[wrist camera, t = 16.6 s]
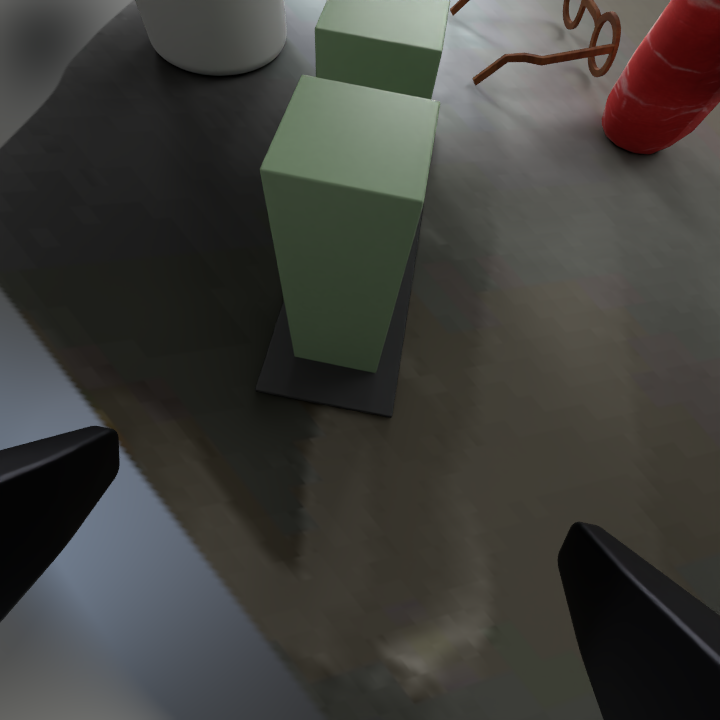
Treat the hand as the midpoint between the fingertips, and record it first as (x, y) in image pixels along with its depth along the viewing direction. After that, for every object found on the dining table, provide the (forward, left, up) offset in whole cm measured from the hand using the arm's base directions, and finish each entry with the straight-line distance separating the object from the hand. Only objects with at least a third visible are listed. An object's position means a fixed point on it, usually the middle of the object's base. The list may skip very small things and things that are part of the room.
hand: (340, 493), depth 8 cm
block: (+11, +4, -13) cm, 17 cm away
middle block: (+18, +5, -13) cm, 23 cm away
